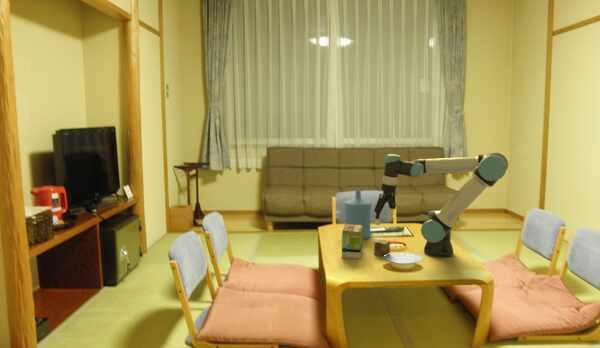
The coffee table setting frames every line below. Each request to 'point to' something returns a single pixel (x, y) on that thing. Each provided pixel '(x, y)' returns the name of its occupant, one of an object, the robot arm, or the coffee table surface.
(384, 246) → the walnut block
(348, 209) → the water jug
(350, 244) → the tea box
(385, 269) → the coffee table surface
